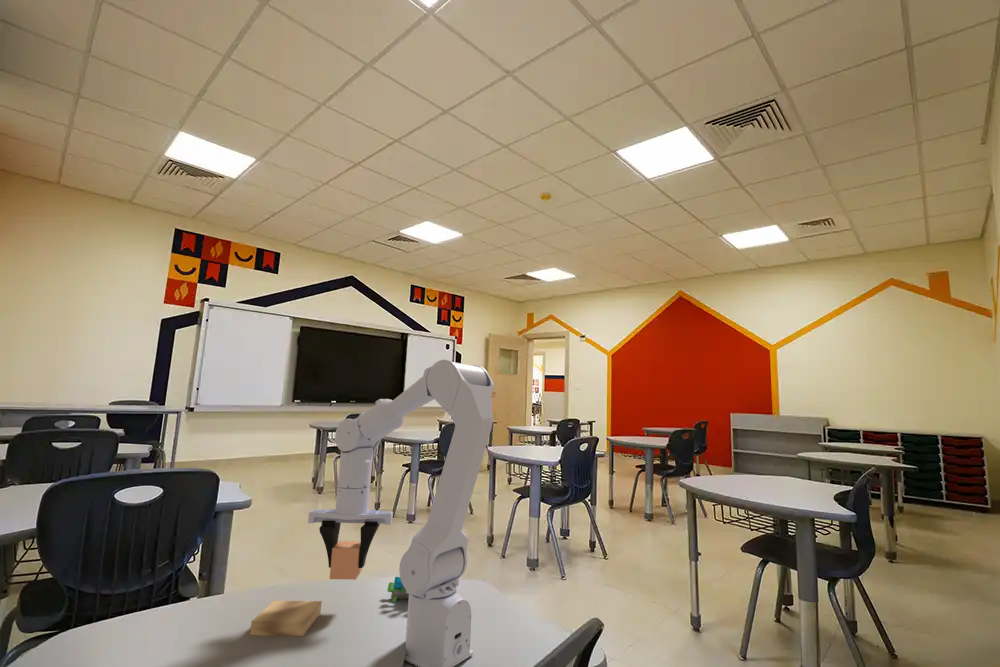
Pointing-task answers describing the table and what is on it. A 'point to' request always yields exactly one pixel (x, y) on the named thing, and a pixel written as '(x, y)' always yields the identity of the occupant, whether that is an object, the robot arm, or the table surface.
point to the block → (345, 560)
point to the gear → (397, 590)
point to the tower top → (286, 618)
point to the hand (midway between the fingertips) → (347, 566)
